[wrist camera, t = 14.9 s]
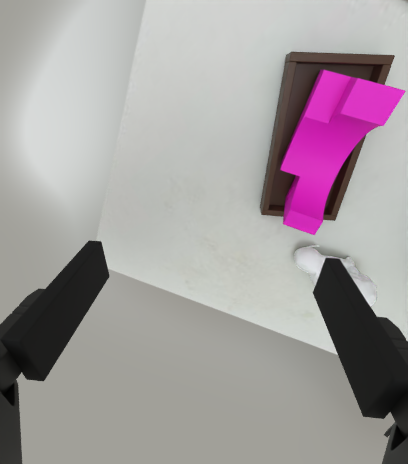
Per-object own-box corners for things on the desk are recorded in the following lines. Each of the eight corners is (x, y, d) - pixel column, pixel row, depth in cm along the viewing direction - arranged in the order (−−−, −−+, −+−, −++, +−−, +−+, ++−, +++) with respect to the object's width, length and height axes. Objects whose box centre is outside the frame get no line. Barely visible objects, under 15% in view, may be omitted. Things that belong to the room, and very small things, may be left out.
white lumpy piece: (354, 328, 35) (287, 288, 34) (337, 289, 42) (281, 254, 41) (393, 303, 32) (320, 258, 31) (367, 266, 39) (307, 228, 38)
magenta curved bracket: (320, 69, 26) (327, 69, 20) (379, 85, 25) (405, 90, 19) (268, 191, 35) (262, 216, 29) (311, 206, 34) (314, 235, 28)
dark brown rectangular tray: (286, 54, 27) (291, 51, 24) (381, 57, 26) (395, 55, 24) (259, 207, 36) (261, 214, 34) (328, 212, 36) (335, 220, 33)
